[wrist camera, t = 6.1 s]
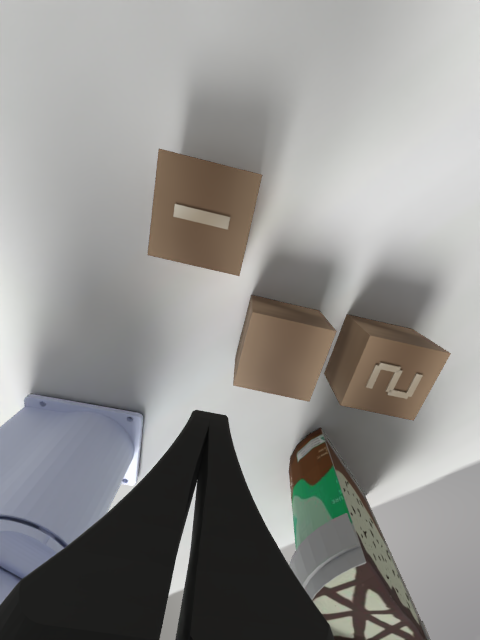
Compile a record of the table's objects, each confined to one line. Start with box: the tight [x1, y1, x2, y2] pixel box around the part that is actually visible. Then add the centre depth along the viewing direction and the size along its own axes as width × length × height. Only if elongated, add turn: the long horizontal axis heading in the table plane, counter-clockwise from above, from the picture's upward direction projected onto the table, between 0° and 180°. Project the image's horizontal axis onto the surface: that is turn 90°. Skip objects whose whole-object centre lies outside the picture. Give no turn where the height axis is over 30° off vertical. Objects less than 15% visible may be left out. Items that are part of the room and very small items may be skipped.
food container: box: [289, 428, 431, 640], centre depth 20 cm, size 12×6×10 cm, turn 32°
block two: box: [324, 314, 451, 420], centre depth 18 cm, size 5×5×4 cm
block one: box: [148, 149, 262, 276], centre depth 15 cm, size 5×5×4 cm
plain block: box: [233, 295, 336, 401], centre depth 18 cm, size 5×5×4 cm
